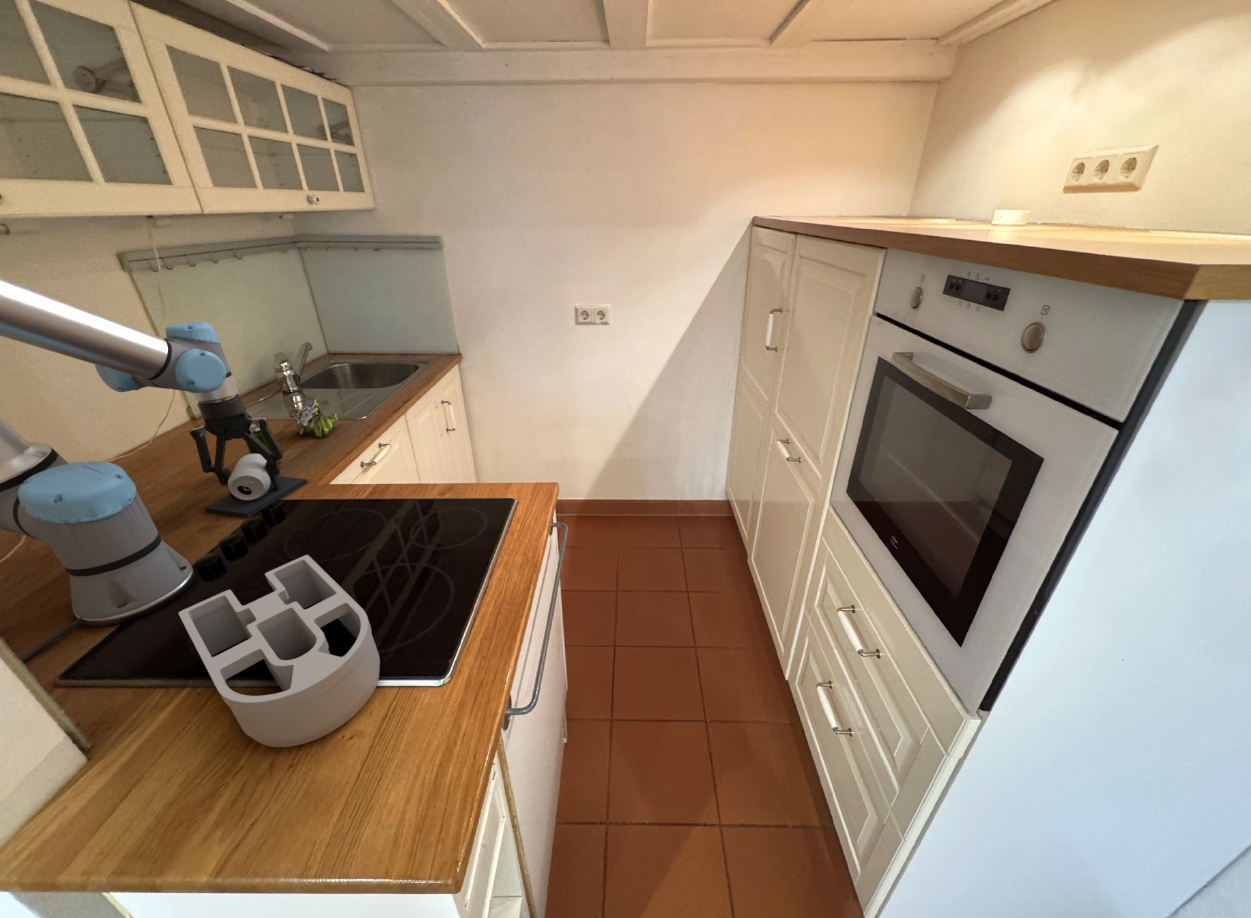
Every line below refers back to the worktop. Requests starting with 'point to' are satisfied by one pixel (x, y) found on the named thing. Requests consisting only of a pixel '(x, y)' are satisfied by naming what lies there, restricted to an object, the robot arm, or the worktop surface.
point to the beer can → (260, 437)
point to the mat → (252, 506)
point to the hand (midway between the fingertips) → (256, 491)
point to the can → (249, 478)
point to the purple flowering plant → (309, 415)
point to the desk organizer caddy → (288, 654)
